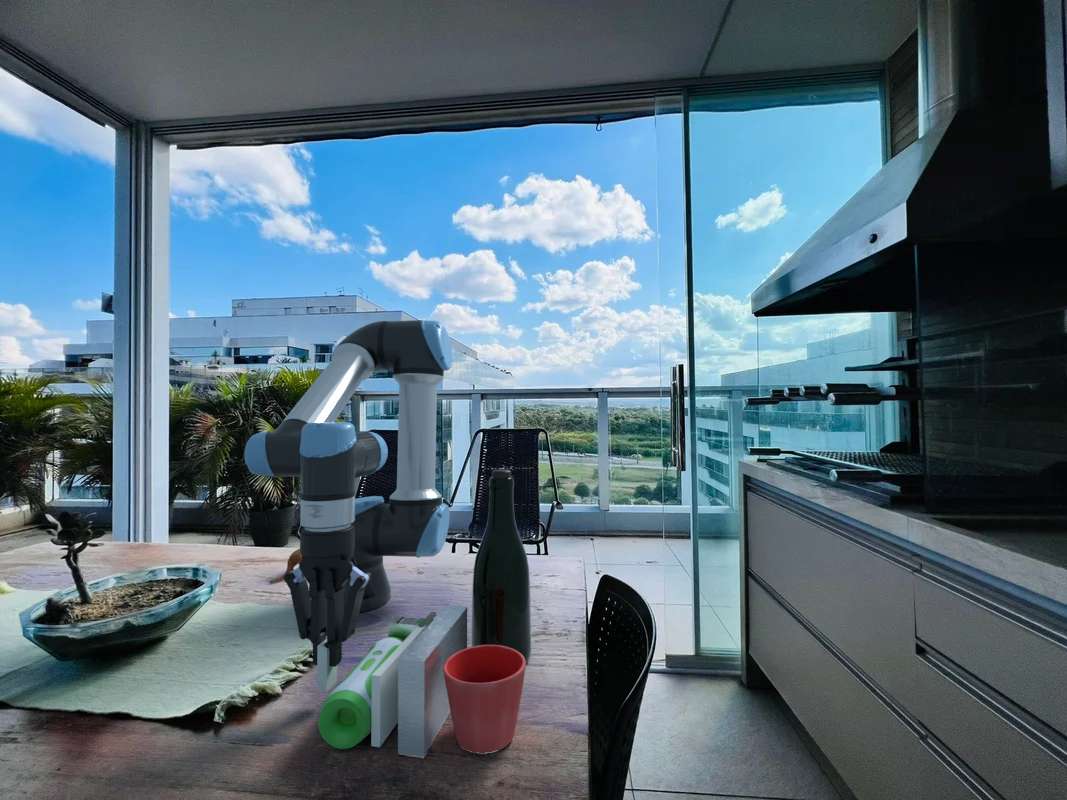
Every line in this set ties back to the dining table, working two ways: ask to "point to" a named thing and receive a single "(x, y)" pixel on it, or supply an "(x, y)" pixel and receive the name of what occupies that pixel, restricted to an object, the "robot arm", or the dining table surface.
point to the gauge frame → (426, 676)
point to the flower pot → (484, 695)
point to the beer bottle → (501, 576)
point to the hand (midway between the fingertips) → (327, 686)
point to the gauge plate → (389, 689)
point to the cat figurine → (290, 564)
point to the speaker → (354, 699)
